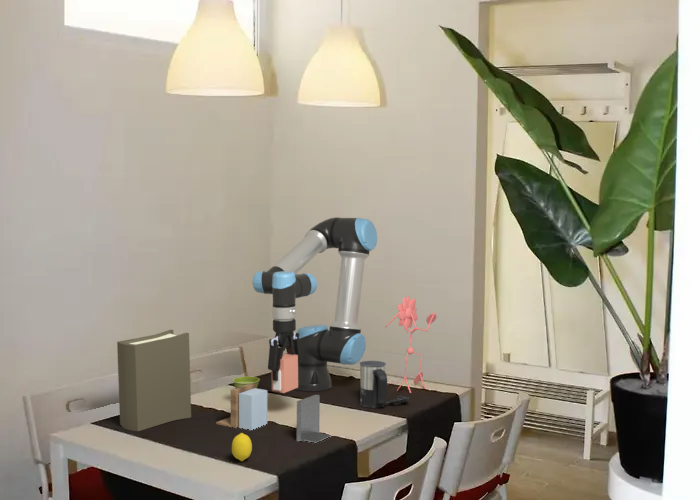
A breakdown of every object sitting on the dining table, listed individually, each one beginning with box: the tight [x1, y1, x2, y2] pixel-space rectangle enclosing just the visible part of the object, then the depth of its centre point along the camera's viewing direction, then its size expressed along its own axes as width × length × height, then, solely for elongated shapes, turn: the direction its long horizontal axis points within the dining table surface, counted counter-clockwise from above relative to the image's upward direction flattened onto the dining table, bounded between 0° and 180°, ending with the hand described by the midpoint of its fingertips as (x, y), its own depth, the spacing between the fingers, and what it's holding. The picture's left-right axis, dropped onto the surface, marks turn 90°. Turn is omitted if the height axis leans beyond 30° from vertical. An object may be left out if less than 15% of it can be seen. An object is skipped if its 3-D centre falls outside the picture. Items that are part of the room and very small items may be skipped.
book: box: [116, 329, 192, 432], centre depth 262 cm, size 22×9×28 cm, turn 140°
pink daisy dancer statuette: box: [384, 296, 438, 394], centre depth 309 cm, size 15×26×35 cm, turn 139°
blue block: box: [238, 387, 268, 431], centre depth 260 cm, size 8×5×11 cm, turn 148°
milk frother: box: [359, 360, 410, 409], centre depth 287 cm, size 14×16×15 cm
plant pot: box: [232, 376, 261, 389], centre depth 285 cm, size 9×9×9 cm
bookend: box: [296, 394, 332, 444], centre depth 247 cm, size 10×6×12 cm, turn 149°
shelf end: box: [215, 383, 256, 429], centre depth 263 cm, size 10×8×12 cm
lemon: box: [231, 432, 253, 462], centre depth 227 cm, size 6×6×8 cm
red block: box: [270, 352, 298, 394], centre depth 272 cm, size 8×5×11 cm, turn 149°
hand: (285, 386), depth 272 cm, fingers closed on red block, 8 cm apart
